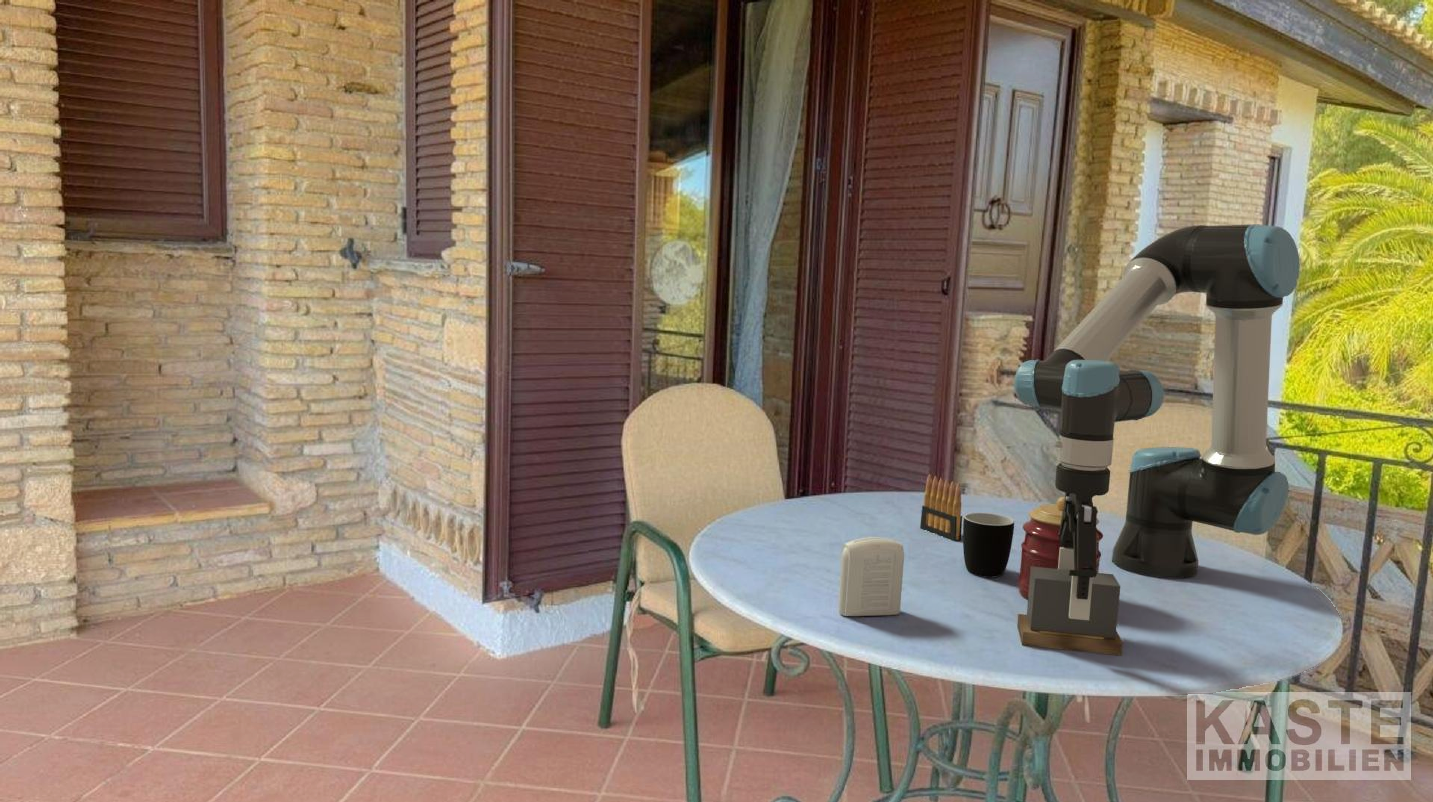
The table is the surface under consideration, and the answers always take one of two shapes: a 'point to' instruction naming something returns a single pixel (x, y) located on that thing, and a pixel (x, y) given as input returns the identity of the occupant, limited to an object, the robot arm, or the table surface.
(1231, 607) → the table surface
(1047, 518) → the canister
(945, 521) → the ammunition clip
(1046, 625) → the grey bevelled block
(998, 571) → the mug
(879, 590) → the photo printer
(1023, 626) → the block
